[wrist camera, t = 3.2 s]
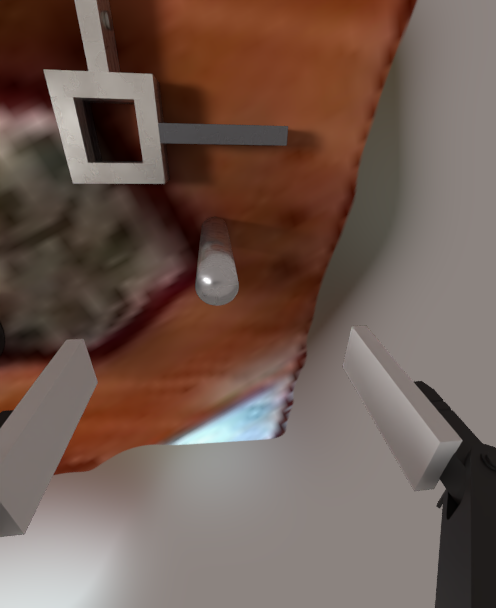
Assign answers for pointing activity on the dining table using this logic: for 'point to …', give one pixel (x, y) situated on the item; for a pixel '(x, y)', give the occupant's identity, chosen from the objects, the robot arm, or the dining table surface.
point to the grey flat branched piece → (126, 90)
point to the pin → (216, 264)
